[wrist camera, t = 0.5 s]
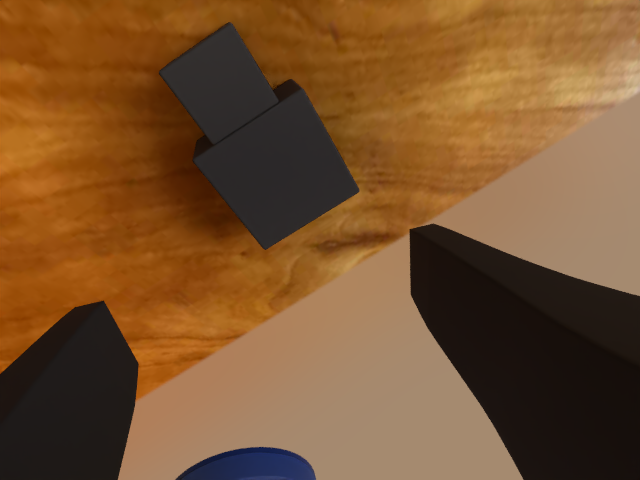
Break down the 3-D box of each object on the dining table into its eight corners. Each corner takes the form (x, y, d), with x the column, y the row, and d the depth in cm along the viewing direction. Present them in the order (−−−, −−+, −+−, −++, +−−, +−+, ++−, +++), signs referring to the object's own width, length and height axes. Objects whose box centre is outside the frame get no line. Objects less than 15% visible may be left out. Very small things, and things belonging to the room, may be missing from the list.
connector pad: (343, 170, 19) (360, 191, 17) (259, 223, 20) (264, 251, 17) (251, 6, 15) (256, 4, 13) (146, 78, 16) (133, 88, 13)
